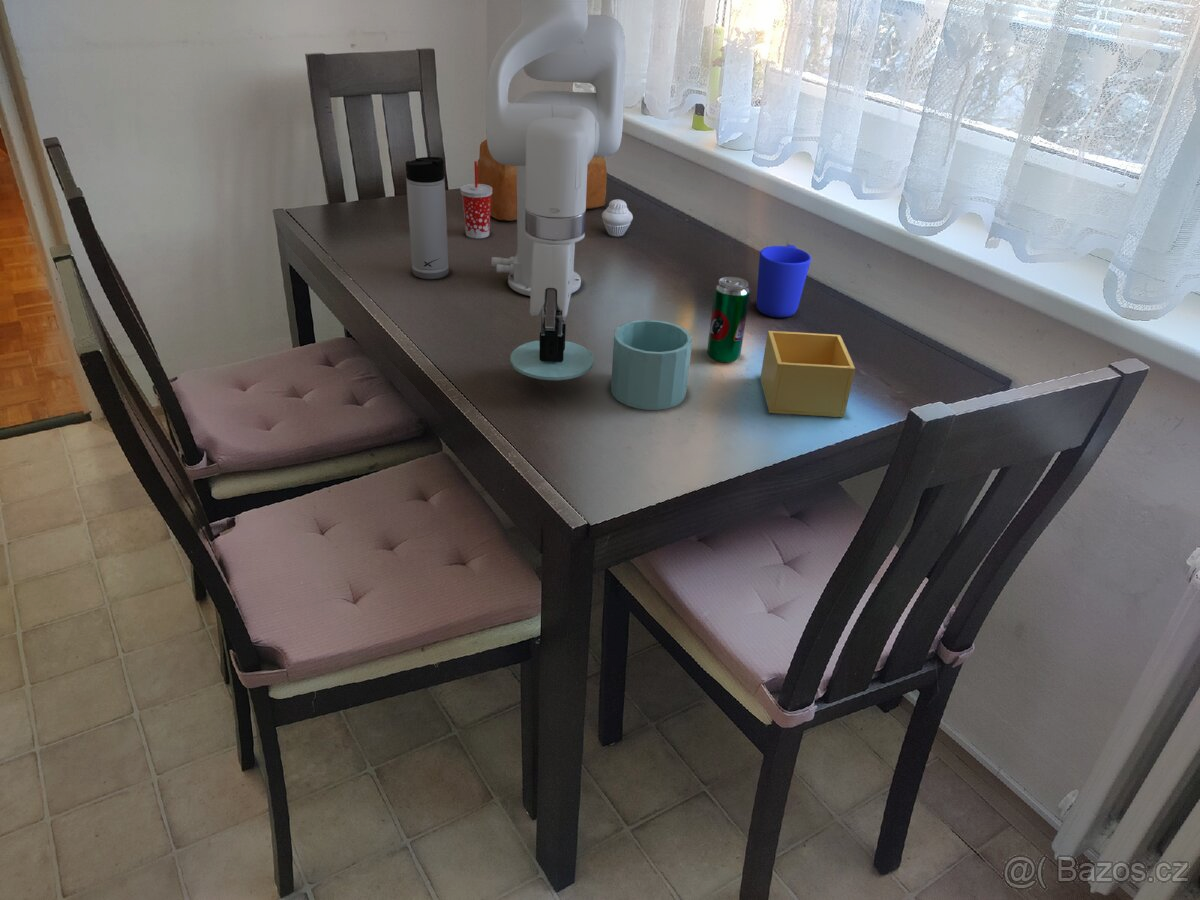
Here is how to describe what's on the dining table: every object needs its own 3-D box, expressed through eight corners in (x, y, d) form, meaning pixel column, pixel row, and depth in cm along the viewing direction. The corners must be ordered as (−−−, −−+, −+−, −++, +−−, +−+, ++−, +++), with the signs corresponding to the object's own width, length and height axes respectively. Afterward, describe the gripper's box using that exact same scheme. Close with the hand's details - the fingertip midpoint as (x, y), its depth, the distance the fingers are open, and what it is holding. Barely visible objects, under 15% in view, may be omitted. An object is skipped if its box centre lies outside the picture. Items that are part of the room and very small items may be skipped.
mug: (807, 298, 155) (817, 243, 150) (796, 325, 146) (807, 267, 140) (760, 290, 157) (769, 235, 152) (747, 316, 148) (755, 258, 142)
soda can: (738, 366, 132) (750, 291, 126) (704, 362, 133) (714, 286, 126) (741, 352, 136) (752, 277, 130) (708, 347, 137) (717, 273, 131)
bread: (611, 208, 191) (615, 132, 183) (501, 225, 179) (501, 144, 170) (578, 190, 201) (580, 117, 192) (472, 205, 189) (469, 128, 180)
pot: (610, 407, 120) (613, 351, 116) (611, 371, 129) (615, 317, 124) (687, 412, 120) (693, 355, 116) (683, 375, 129) (689, 321, 124)
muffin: (597, 236, 176) (599, 201, 172) (604, 227, 181) (606, 192, 178) (628, 240, 175) (630, 205, 171) (634, 230, 180) (636, 196, 176)
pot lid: (505, 381, 118) (505, 343, 115) (515, 344, 127) (515, 307, 124) (592, 386, 118) (593, 348, 115) (595, 349, 127) (596, 312, 124)
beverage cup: (497, 238, 173) (496, 165, 165) (466, 241, 171) (463, 167, 163) (488, 227, 177) (486, 156, 170) (458, 230, 175) (455, 158, 168)
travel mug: (434, 283, 153) (427, 164, 142) (405, 273, 156) (396, 157, 145) (457, 272, 157) (453, 157, 146) (429, 263, 160) (422, 149, 149)
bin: (769, 413, 121) (777, 363, 117) (760, 377, 130) (768, 330, 126) (844, 417, 121) (855, 368, 117) (830, 381, 130) (840, 334, 126)
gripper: (531, 202, 119) (530, 329, 129) (518, 243, 105) (518, 381, 115) (587, 205, 119) (582, 332, 129) (582, 247, 105) (576, 385, 115)
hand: (552, 354), depth 122 cm, fingers closed on pot lid, 2 cm apart
